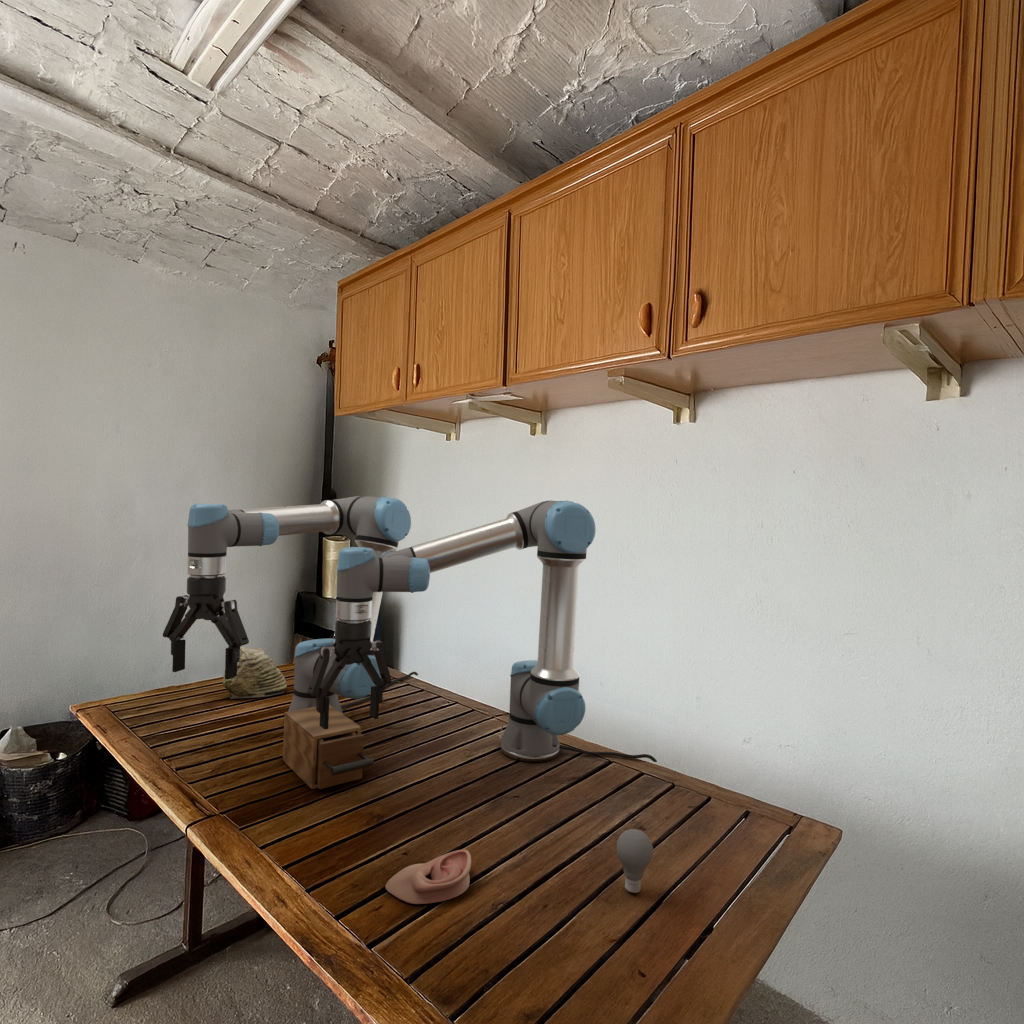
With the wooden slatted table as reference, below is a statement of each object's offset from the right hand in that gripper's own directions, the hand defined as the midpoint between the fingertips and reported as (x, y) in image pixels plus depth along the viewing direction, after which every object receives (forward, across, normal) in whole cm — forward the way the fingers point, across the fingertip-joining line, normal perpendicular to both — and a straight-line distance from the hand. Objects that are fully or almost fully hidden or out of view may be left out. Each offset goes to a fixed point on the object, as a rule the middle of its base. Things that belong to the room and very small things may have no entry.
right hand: (349, 722), depth 136 cm
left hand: (-9, -24, +20) cm, 33 cm away
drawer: (+14, 0, +8) cm, 17 cm away
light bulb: (+15, +24, -59) cm, 65 cm away
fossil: (+15, +4, +77) cm, 78 cm away
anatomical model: (+15, -2, -38) cm, 41 cm away
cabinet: (+15, 0, +15) cm, 21 cm away
